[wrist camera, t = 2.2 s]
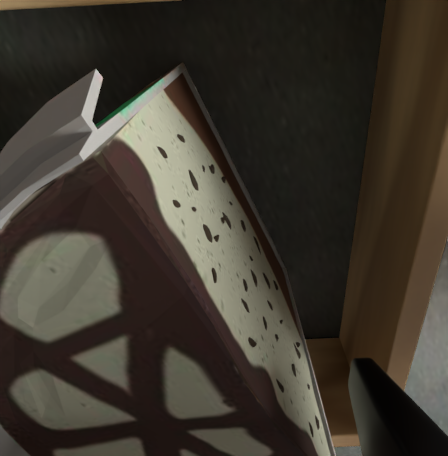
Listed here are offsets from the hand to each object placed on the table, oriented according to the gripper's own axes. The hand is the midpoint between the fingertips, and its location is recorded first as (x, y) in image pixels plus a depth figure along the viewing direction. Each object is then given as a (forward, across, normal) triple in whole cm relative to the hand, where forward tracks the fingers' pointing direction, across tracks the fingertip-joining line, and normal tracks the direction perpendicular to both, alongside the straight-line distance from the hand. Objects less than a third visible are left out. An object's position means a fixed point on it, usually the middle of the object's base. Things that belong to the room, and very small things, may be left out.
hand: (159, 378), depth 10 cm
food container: (+8, 0, 0) cm, 8 cm away
